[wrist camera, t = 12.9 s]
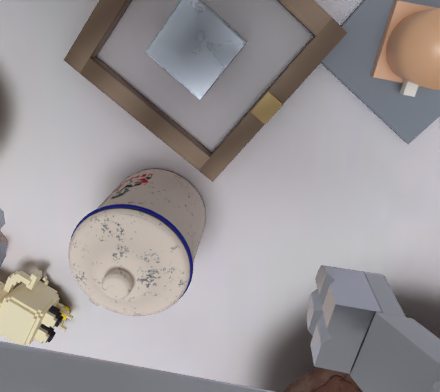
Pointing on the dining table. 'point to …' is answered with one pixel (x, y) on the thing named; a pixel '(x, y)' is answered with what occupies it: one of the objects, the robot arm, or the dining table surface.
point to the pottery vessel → (324, 382)
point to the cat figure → (30, 309)
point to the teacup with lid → (139, 244)
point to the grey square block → (195, 46)
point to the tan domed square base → (410, 48)
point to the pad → (374, 87)
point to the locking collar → (165, 127)
